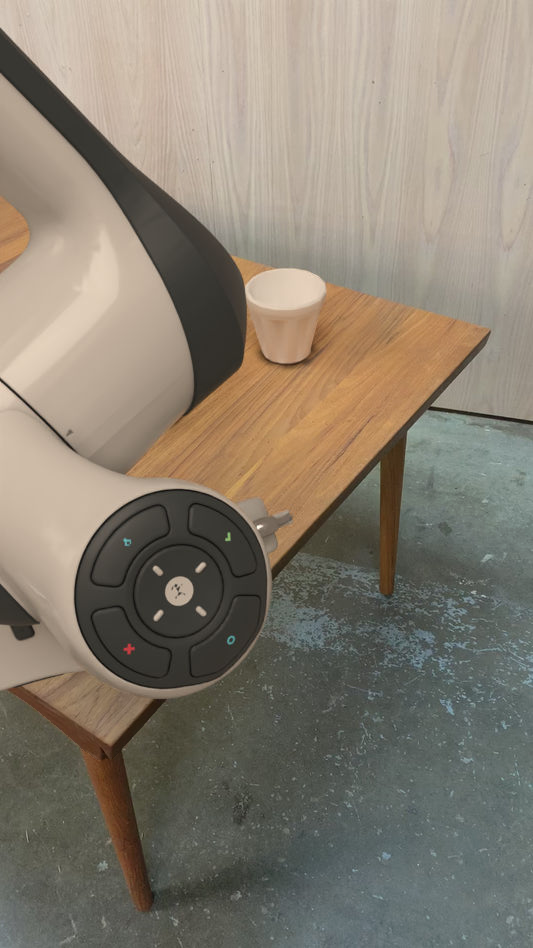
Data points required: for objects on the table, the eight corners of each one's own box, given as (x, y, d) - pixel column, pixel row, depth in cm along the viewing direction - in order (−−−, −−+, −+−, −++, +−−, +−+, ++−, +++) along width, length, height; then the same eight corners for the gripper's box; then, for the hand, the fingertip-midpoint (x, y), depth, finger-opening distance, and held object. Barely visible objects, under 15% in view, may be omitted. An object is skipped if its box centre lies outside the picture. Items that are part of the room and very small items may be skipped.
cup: (277, 323, 105) (275, 260, 99) (340, 345, 101) (342, 280, 94) (232, 358, 99) (227, 293, 93) (297, 384, 95) (296, 317, 89)
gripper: (284, 461, 45) (228, 482, 58) (-87, 587, 39) (-54, 579, 52) (320, 565, 45) (256, 563, 58) (-45, 708, 39) (-24, 668, 52)
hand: (107, 571), depth 55 cm, fingers open, 8 cm apart
